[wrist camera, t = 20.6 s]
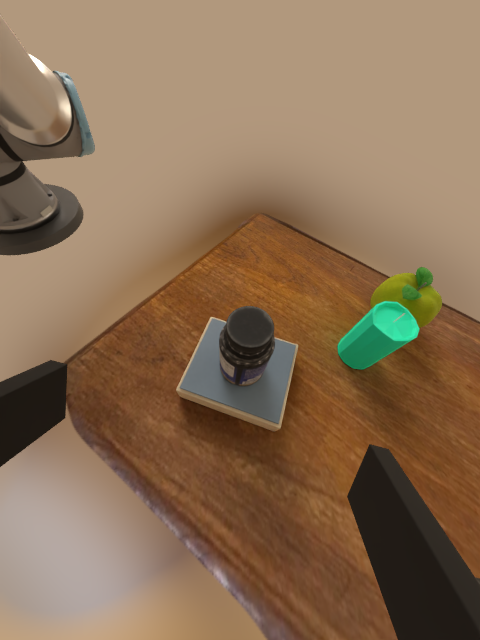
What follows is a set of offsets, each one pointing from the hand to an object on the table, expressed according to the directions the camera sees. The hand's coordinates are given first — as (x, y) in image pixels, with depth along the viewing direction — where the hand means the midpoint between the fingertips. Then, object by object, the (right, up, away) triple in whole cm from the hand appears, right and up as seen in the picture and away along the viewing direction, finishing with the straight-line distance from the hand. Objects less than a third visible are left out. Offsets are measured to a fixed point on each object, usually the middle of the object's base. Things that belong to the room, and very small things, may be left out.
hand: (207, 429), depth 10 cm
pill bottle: (+2, -2, +22) cm, 22 cm away
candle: (+21, -1, +29) cm, 35 cm away
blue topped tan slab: (+1, -4, +25) cm, 26 cm away
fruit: (+28, +5, +33) cm, 43 cm away
